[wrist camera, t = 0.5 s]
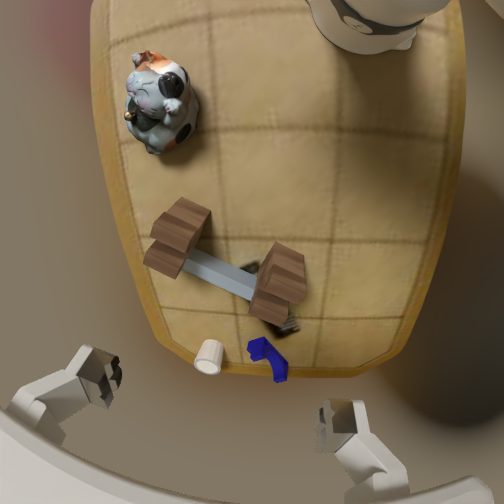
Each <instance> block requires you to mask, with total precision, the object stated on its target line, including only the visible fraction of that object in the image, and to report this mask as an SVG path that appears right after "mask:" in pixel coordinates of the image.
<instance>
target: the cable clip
mask: <svg viewBox="0 0 504 504" xmlns="http://www.w3.org/2000/svg"><path fill="white" fill-rule="evenodd" d="M247 351H248V352H249V353H250V354H251V356H250V358H251V359H252V360H253V361H258V360H261V359H265V358H267V359H268V360H269V362H270V364H271V366H272V369H273V375H274V381H275V382H276V383H279V382H283V381H287V372H288V362H287V361H286V360H285V359H284V358H283V357H282V356H281V354H280V353H279V352H278V351H277V350H276V349H275V348H274V347H273V346H272V345H271V344H270V342H269V341H268V340H267V339H266V338H265V337H261V338H258V339H255V340H252V341H249V342H248V347H247Z"/></svg>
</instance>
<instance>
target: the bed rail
mask: <svg viewBox="0 0 504 504" xmlns="http://www.w3.org/2000/svg"><path fill="white" fill-rule="evenodd" d="M182 269H183V270H185V271H187V272H189V273H191V274H193V275H195V276H197V277H199V278H202V279H204V280H206V281H208V282H210V283H212V284H214V285H217V286H219V287H221V288H223V289H225V290H227V291H230V292H232V293H234V294H236V295H238V296H241V297H243V298H245V299H247V300H250V301H251V298H252V296H253V294H254V289H255V285H256V280H257V277H256V276H254V275H252V274H250V273H247V272H245V271H243V270H241V269H239V268H237V267H235V266H232V265H230V264H228V263H226V262H224V261H222V260H220V259H217V258H215V257H213V256H211V255H209V254H207V253H205V252H203V251H201V250H199V249H196V248H193V250H192V251H191V253H190V255H189V256H188V258H187V260H186V261H185V263H184V266H183V267H182Z"/></svg>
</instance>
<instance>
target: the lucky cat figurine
mask: <svg viewBox="0 0 504 504" xmlns="http://www.w3.org/2000/svg"><path fill="white" fill-rule="evenodd" d="M132 57H133V58H132V61H133V63H134V64H135V67H134V70H133V72H132V73H131V74H130V76H129V77H128V79H127V82H126V88H127V91H128V96H127V99H126V112H125V113H124V118H125V120H126V123H127V127H128V129H129V131H130V132H131V133H132V134H133V136H134V137H135V138H136V139H137V140H139V141H141V142H143V143H144V144H145V146H146V150H147V151H148V153H149V154H154V155H161V154H164V153H168V152H170V151H173V150H174V149H176V148H178V147H179V146H181V145H182V144H183V143H184V142H185V141H186V140H187V139H188V138H189V137H190V135H191V134H192V133H193V132H194V131H195V130H196V129H197V121H196V120H197V114H198V112H199V103H198V101H197V99H196V97H195V95H194V92H193V90H192V88H191V87H190V78H189V75H188V72H187V71H186V70H185V69H184V68H183V67H182V66H179V65H178V64H176V63H175V62H173V61H172V60H169V59H166V58H164V57H163V56H162V55H161V54H158V53H155V52H149V51H147V50H146V51H145V52H144V53H140V54H139V53H135V54H134V55H132Z"/></svg>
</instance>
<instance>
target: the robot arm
mask: <svg viewBox="0 0 504 504" xmlns="http://www.w3.org/2000/svg"><path fill="white" fill-rule="evenodd" d="M306 1H307V2H308V3H309V4H310V6H311V10H312V15H313V18H314V21H315V23H316V25H317V27H318V28H319V30H320V31H321V32H322V34H323V35H324V36H325V37H326V38H327V39H329V40H330V41H331V42H332V43H334V44H335V45H337V46H339V47H341V48H343V49H345V50H347V51H350V52H353V53H358V54H367V55H369V54H377V53H381V52H384V51H387V50H391V49H394V50H407V49H409V48H410V47H411V44H412V40H413V37H414V36H415V35H416V34H417V33H416V31H415V30H416V27H417V26H418V25H419V24H420V23H421V22H422V21H423V20H424V19H425V18H426V17H428V16H430V15H432V14H434V13H436V12H438V11H440V10H442V9H444V8H445V7H446V6H447V5H448V3H449V2H450V0H306ZM485 1H486V2H487V3H488V4H489V5H490V6H491V7H492V8H493V9H494V10H495V11H496V12H497V13H498V14H499V15H500V16H501V17H502V18H503V19H504V0H485ZM119 362H120V361H119V357H118V356H116V355H113V354H111V353H108V352H105V351H103V350H100V349H98V348H95V347H93V346H90V345H88V344H84V345H83V346H82V347H81V348H80V350H79V351H78V352H77V354H76V355H75V357H74V358H73V360H72V361H71V362H70V364H69V365H68V367H67V368H66V370H60V371H57V372H55V373H53V374H51V375H48V376H46V377H44V378H42V379H40V380H37V381H35V382H33V383H30V384H28V385H26V386H24V387H21V388H20V389H19V390H18V392H17V393H16V395H15V396H14V398H13V399H12V401H11V402H10V404H9V405H8V407H7V408H6V409H4V408H3V407H2V406H0V504H238V503H231V502H223V501H217V500H212V499H206V498H201V497H196V496H191V495H187V494H183V493H179V492H175V491H171V490H168V489H164V488H160V487H157V486H154V485H151V484H148V483H145V482H141V481H138V480H136V479H133V478H130V477H127V476H124V475H122V474H120V473H117V472H115V471H112V470H110V469H107V468H104V467H103V466H100V465H98V464H96V463H93V462H91V461H89V460H87V459H85V458H83V457H81V456H79V455H77V454H75V453H73V452H71V451H69V450H68V449H66V448H64V447H62V446H61V445H62V443H63V441H64V439H65V437H66V434H65V432H64V430H63V429H62V428H61V426H60V425H59V423H61V422H63V421H64V420H66V419H67V418H69V417H70V416H72V415H73V414H75V413H77V412H78V411H79V410H81V409H83V408H84V407H86V406H87V405H88V404H90V403H92V404H95V405H98V406H100V407H103V408H105V409H108V408H109V406H110V404H111V402H112V400H113V398H114V396H113V392H114V391H116V390H117V389H118V388H119V386H120V384H121V380H122V369H121V368H120V367H119V365H118V364H119ZM314 430H315V431H316V432H317V433H318V435H317V437H316V438H315V452H319V453H335V455H336V457H337V458H338V460H339V461H340V463H341V464H342V466H343V467H344V469H345V470H346V472H347V473H348V475H349V476H350V477H351V479H352V480H353V482H354V483H355V486H354V487H352V488H350V489H349V490H347V491H346V492H345V493H344V495H345V496H344V497H345V504H494V499H493V495H492V492H491V490H490V488H489V487H488V486H487V485H486V484H485V483H483V482H482V481H481V480H480V479H479V478H477V477H476V476H474V475H468V476H465V477H462V478H459V479H457V480H454V481H451V482H448V483H446V484H443V485H439V486H436V487H433V488H430V489H426V490H423V491H419V492H415V493H412V494H410V488H409V483H408V477H407V472H406V468H405V467H404V465H403V464H402V463H401V462H400V461H399V460H398V459H397V458H396V457H395V456H394V455H393V454H392V453H391V452H390V451H389V450H388V449H387V448H386V446H385V445H384V444H383V443H382V442H381V441H380V440H379V439H378V438H377V437H376V436H375V435H374V434H373V433H370V429H369V424H368V419H367V414H366V410H365V405H364V402H363V401H362V400H350V399H348V400H347V399H326V400H325V401H324V403H323V407H322V408H320V409H319V410H318V412H317V413H316V416H315V419H314Z"/></svg>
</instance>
